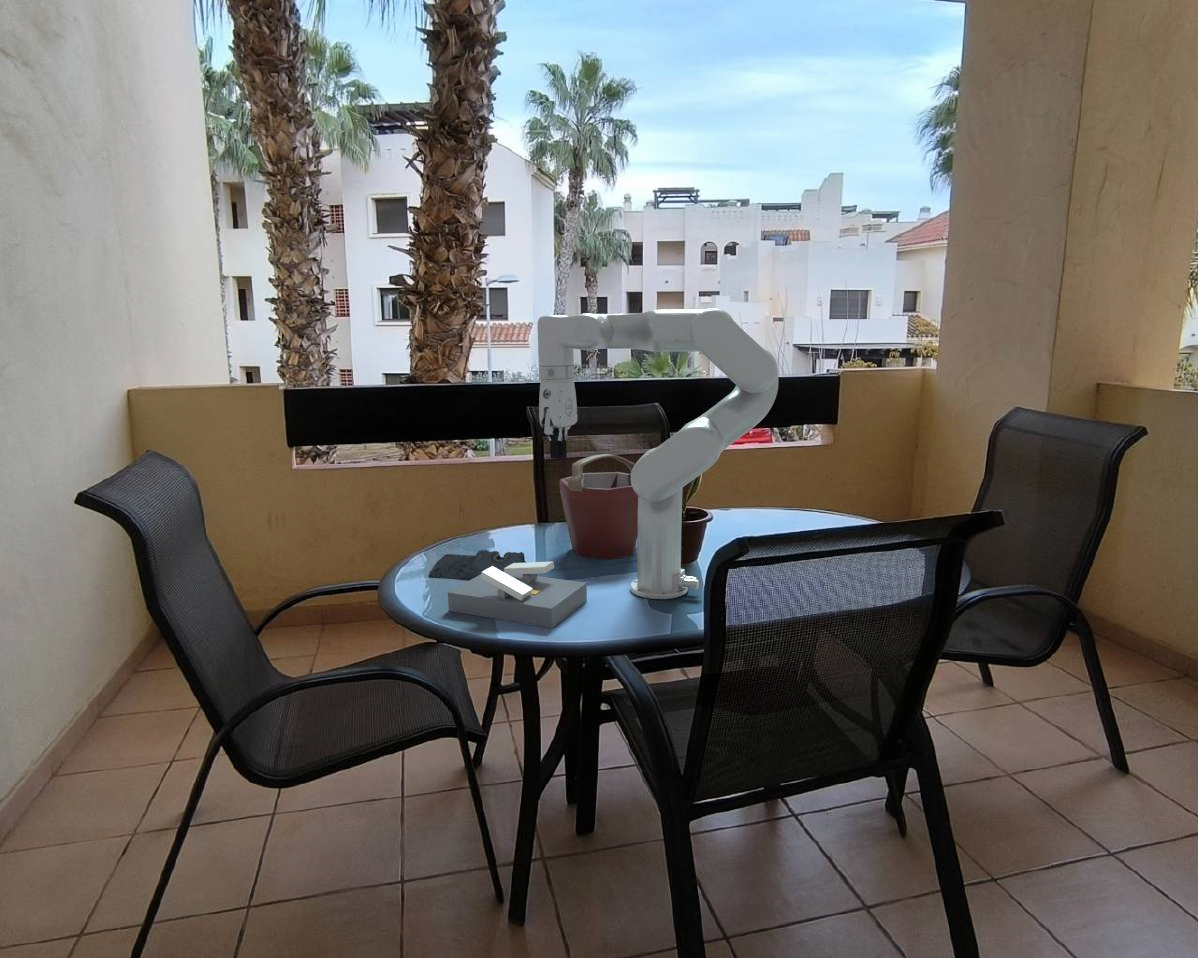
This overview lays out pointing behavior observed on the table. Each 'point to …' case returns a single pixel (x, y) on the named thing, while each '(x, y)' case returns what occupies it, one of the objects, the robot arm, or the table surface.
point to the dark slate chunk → (472, 564)
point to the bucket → (600, 510)
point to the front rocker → (506, 583)
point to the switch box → (539, 608)
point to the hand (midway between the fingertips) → (558, 458)
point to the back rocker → (529, 568)
